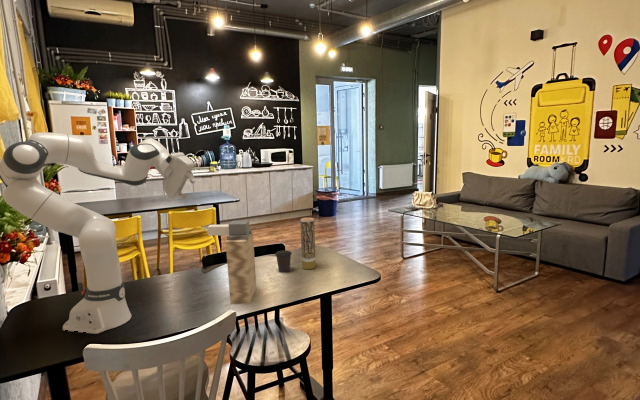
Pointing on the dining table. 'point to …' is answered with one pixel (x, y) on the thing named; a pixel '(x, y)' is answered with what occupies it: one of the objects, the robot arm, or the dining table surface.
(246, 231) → the hammer
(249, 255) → the beige zigzag patterned box
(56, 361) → the dining table surface
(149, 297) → the dining table surface
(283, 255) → the coffee cup
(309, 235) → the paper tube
